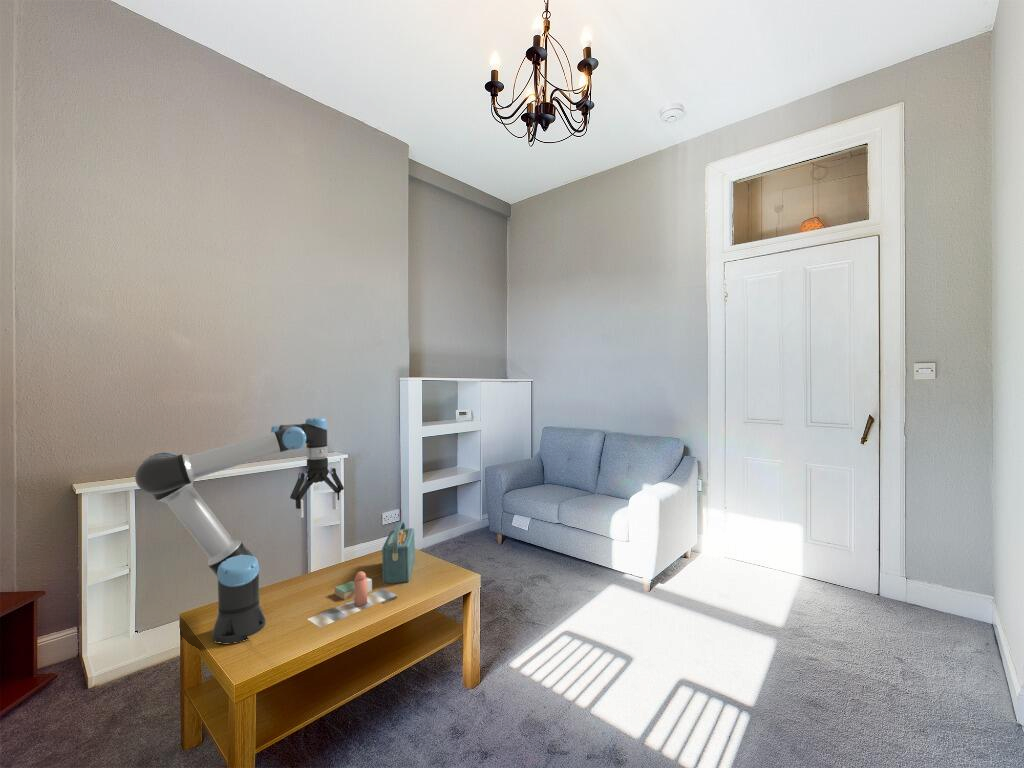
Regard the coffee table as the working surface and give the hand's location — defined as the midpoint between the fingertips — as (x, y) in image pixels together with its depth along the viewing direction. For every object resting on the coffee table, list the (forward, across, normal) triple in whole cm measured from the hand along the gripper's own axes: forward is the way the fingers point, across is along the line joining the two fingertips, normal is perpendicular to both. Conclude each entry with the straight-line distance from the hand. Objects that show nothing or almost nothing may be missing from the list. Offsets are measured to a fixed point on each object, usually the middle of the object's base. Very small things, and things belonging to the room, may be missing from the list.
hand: (318, 513), depth 179 cm
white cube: (+30, +10, -10) cm, 33 cm away
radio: (+32, +33, -5) cm, 46 cm away
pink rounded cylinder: (+30, +5, -21) cm, 37 cm away
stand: (+32, +6, -10) cm, 34 cm away
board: (+32, +2, -21) cm, 38 cm away
